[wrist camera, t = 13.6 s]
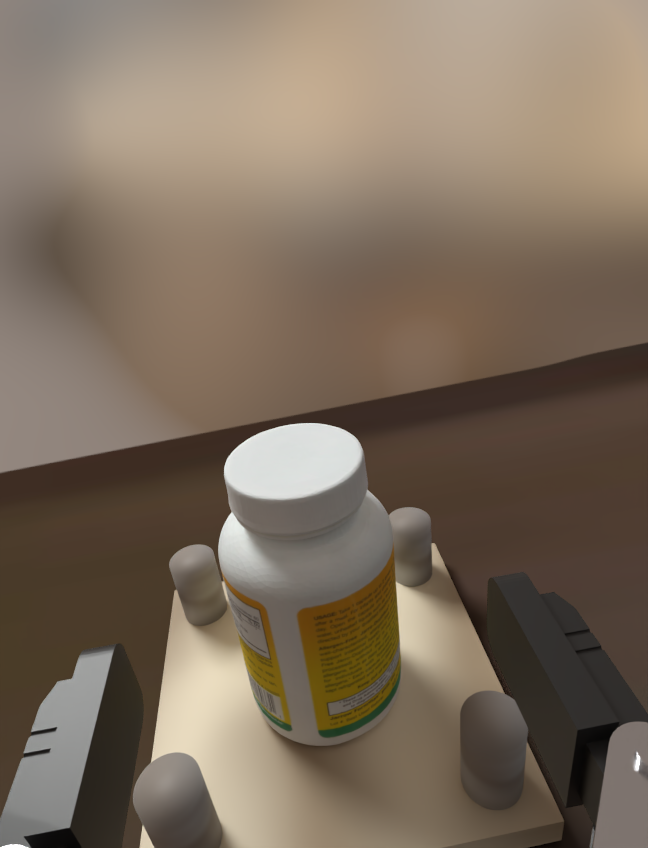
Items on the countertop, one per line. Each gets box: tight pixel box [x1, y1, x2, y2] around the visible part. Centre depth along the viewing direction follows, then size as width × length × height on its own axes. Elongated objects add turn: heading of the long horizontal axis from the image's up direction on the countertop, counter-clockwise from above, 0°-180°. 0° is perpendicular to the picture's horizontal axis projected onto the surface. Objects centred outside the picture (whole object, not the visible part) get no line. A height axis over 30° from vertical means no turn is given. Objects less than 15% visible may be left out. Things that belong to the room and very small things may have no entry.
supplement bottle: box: [218, 423, 401, 746], centre depth 18 cm, size 5×5×10 cm
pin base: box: [133, 507, 564, 848], centre depth 20 cm, size 12×12×4 cm
